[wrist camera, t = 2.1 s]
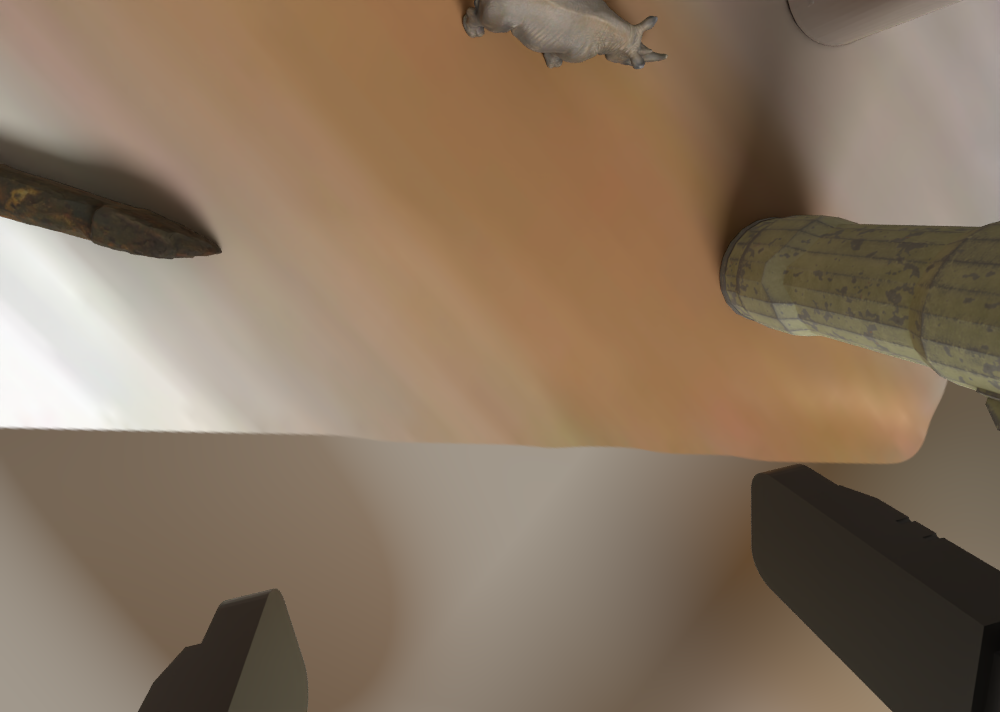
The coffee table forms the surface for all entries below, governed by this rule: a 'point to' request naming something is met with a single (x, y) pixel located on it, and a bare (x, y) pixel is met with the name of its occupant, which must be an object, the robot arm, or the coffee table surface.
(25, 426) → the coffee table surface
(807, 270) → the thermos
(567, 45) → the rhino figurine
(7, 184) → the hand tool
